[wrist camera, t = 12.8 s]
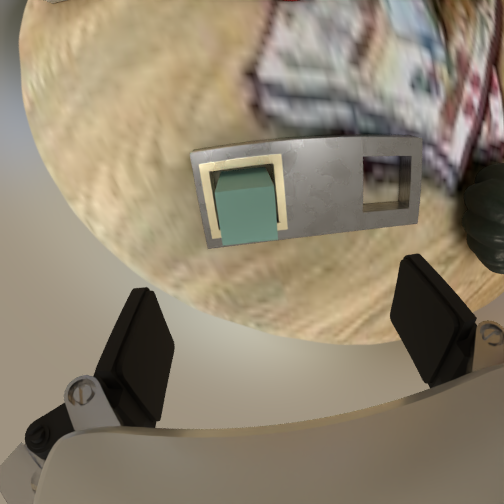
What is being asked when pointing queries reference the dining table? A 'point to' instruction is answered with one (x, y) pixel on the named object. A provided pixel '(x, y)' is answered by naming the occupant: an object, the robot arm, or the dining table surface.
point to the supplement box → (54, 1)
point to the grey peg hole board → (315, 182)
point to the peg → (246, 206)
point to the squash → (486, 217)
